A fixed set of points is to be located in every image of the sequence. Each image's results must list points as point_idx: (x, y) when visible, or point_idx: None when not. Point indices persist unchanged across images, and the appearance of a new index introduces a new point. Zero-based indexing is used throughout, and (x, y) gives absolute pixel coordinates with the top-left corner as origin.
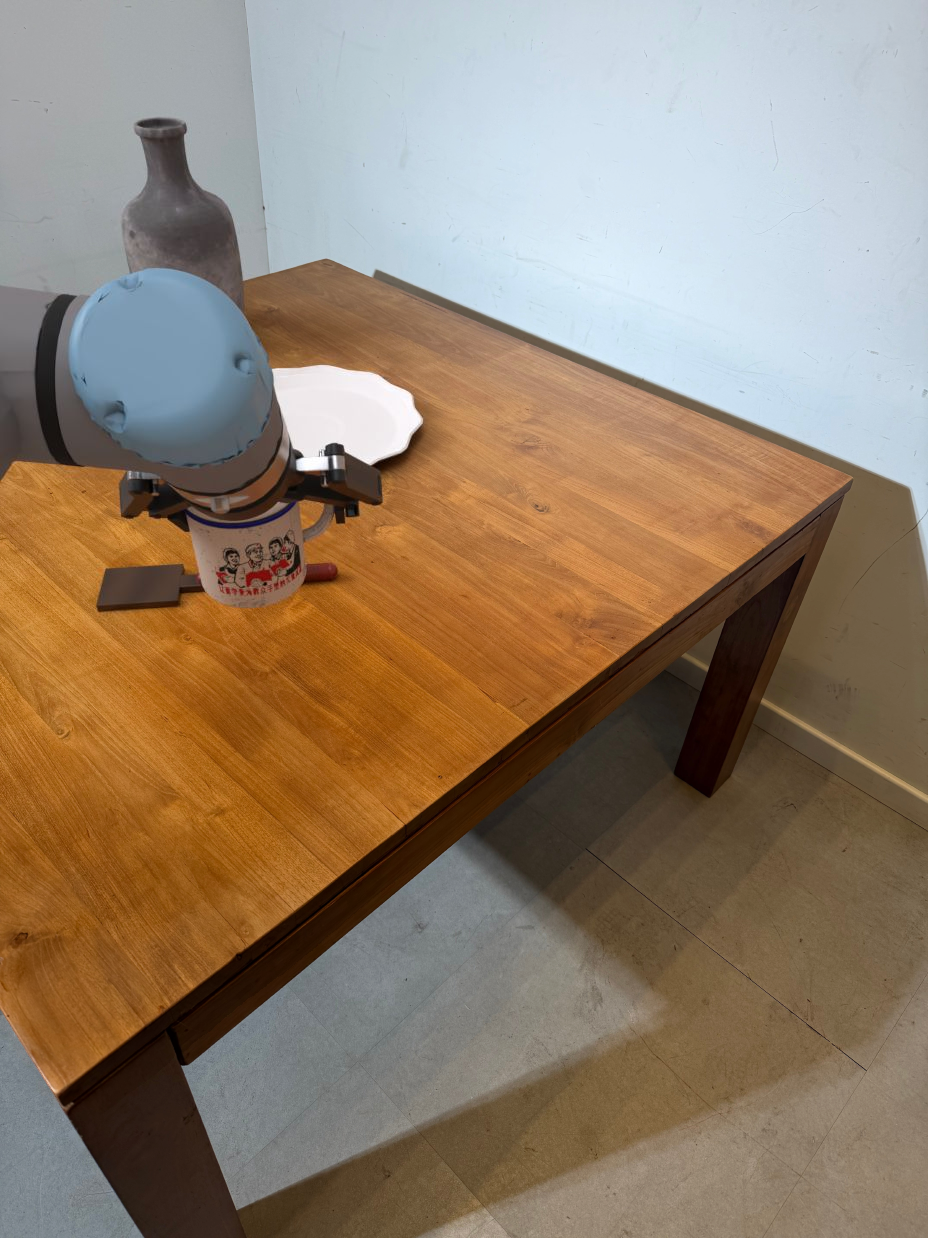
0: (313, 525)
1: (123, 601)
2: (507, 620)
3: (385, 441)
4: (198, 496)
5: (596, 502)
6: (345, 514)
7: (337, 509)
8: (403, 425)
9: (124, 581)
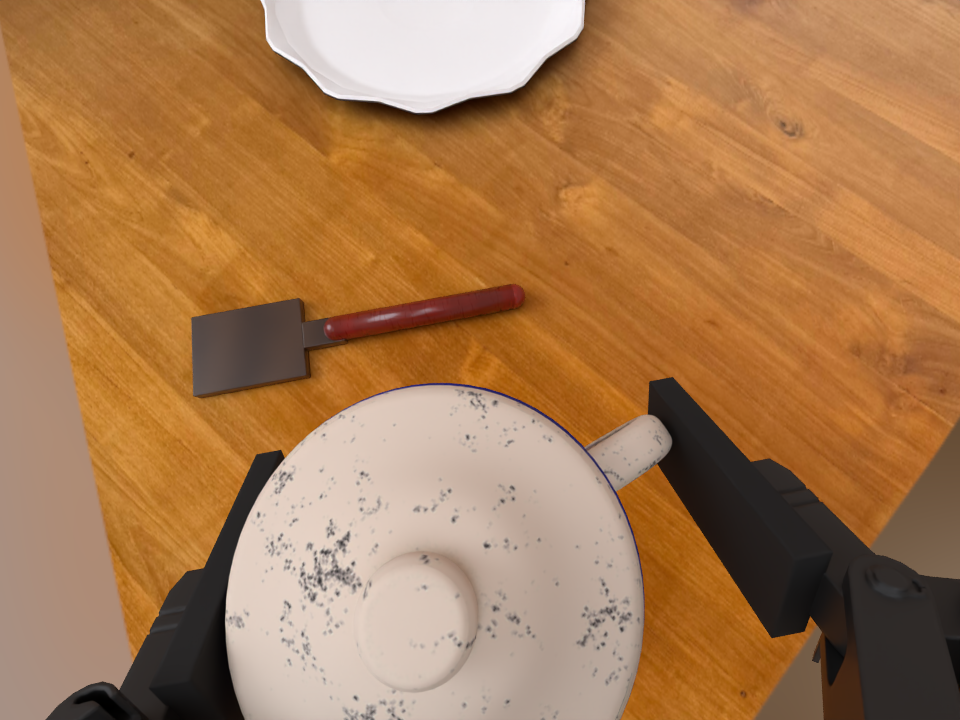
0: (587, 449)
1: (230, 384)
2: (782, 367)
3: (540, 9)
4: None
5: (869, 108)
6: (814, 655)
7: (781, 632)
8: None
9: (223, 343)
